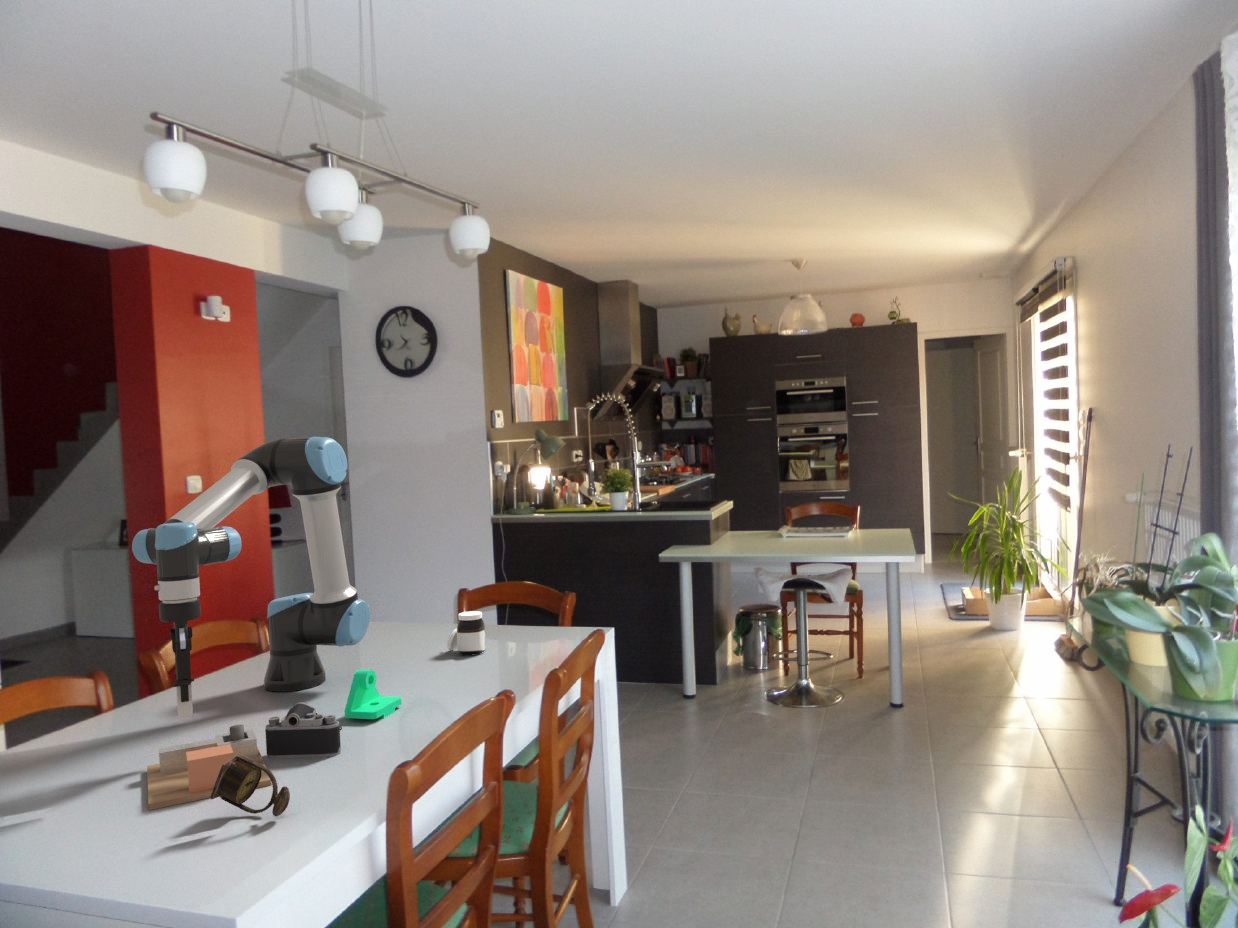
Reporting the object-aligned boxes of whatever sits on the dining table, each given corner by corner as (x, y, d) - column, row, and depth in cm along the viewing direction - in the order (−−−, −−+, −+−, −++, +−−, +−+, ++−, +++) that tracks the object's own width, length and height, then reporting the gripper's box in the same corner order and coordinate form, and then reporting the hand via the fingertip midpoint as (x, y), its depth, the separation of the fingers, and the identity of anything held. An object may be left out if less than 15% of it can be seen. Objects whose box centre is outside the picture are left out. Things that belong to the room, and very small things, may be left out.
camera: (353, 742, 189) (350, 695, 189) (338, 757, 181) (335, 707, 180) (279, 744, 190) (277, 696, 190) (262, 758, 182) (259, 709, 181)
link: (160, 777, 171) (159, 756, 170) (159, 766, 177) (158, 745, 177) (257, 758, 179) (256, 738, 178) (253, 748, 185) (252, 729, 185)
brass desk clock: (224, 806, 158) (220, 749, 157) (300, 801, 159) (296, 744, 158) (209, 824, 151) (205, 764, 150) (288, 818, 152) (285, 759, 151)
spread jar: (482, 657, 258) (480, 616, 258) (442, 658, 258) (440, 617, 258) (489, 647, 270) (487, 608, 270) (451, 648, 270) (449, 609, 270)
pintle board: (147, 770, 177) (145, 735, 177) (257, 750, 187) (255, 716, 186) (148, 809, 158) (146, 770, 158) (271, 784, 167) (269, 747, 167)
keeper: (187, 783, 167) (186, 751, 167) (232, 774, 170) (230, 743, 170) (189, 793, 162) (187, 760, 162) (235, 783, 166) (233, 752, 165)
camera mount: (375, 724, 201) (372, 678, 201) (345, 722, 204) (342, 676, 203) (403, 707, 213) (401, 664, 212) (374, 706, 215) (372, 663, 215)
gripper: (157, 597, 187) (163, 711, 188) (159, 606, 176) (165, 728, 176) (197, 593, 191) (203, 705, 191) (202, 602, 179) (208, 721, 180)
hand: (185, 716), depth 184 cm, fingers closed
